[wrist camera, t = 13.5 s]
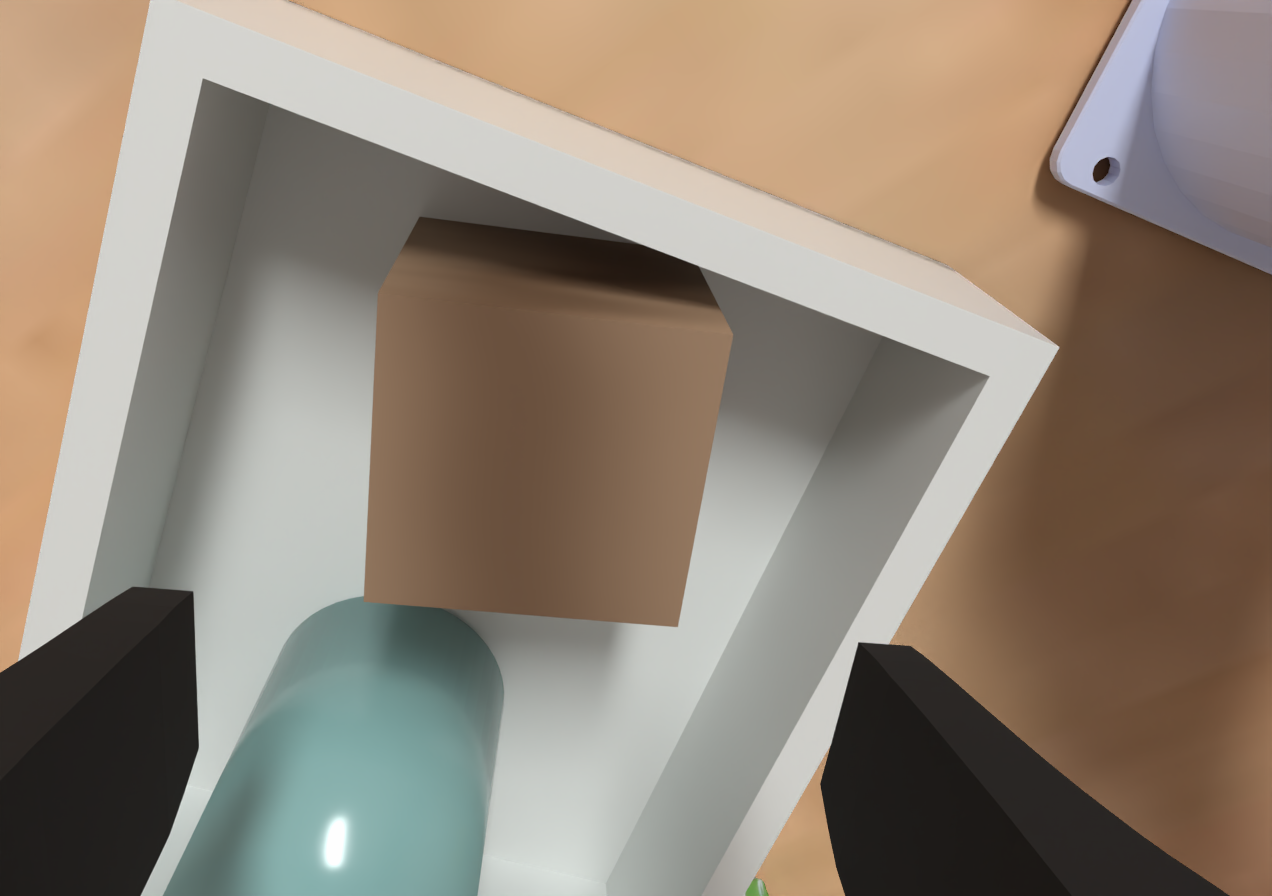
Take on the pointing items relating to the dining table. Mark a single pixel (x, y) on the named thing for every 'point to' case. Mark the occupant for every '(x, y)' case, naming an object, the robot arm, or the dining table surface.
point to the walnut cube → (540, 424)
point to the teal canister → (358, 764)
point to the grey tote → (342, 421)
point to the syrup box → (756, 888)
